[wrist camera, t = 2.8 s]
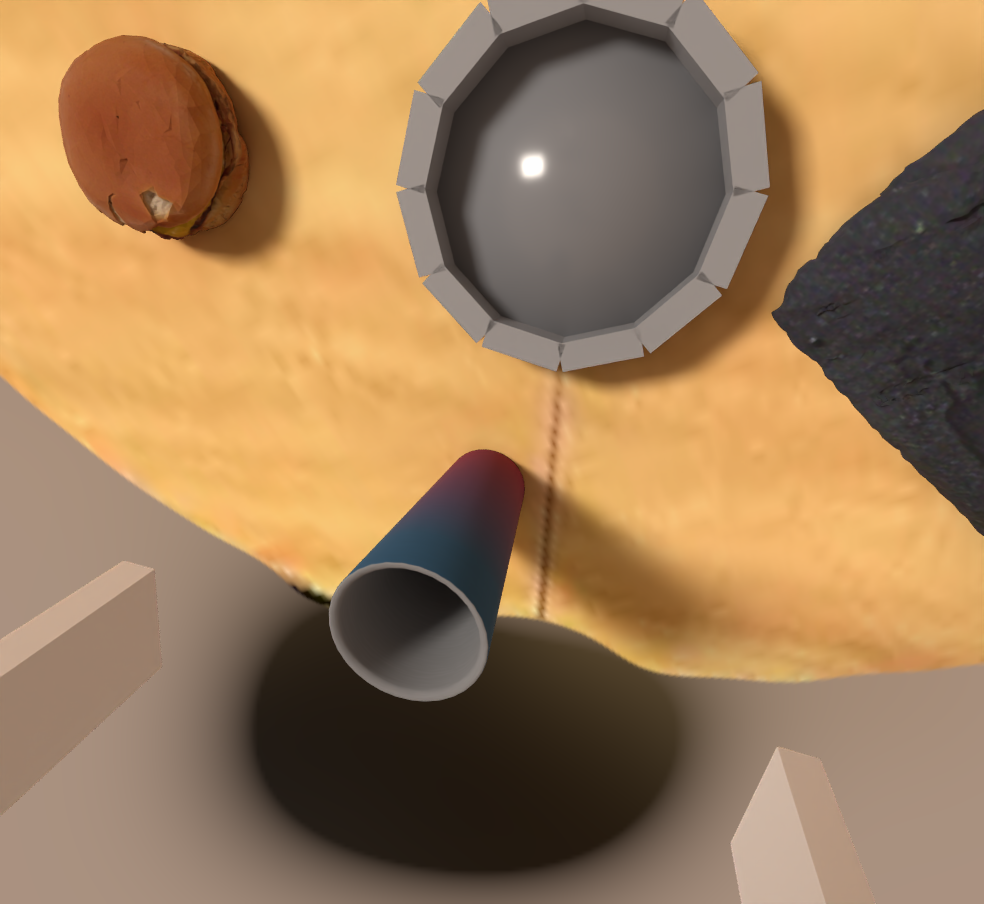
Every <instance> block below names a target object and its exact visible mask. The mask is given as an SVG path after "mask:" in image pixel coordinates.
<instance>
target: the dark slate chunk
mask: <svg viewBox="0 0 984 904" xmlns="http://www.w3.org/2000/svg"><path fill="white" fill-rule="evenodd" d="M880 195H881V196H880V197H878V198H877V199H875V200H874V201H873V202H872V203H870V204H869V205H867V206H866V207H864V208H863V209H862V210H860V211H859V212H858V213H857V214H855V215H854V216H853V217H852V218H851V219H849V220H848V221H847V222H846V223H844V224H843V225H842V226H841V227H840V229H839V230H838V231H837V232H836V233H835V234H834V235H833V236H832V237H831V239H830V240H829V242H827V243H826V244H825V245H824V246H823V247H822V249H821V250H820V251H819V253H818V256H817V258H816V259H814V260H810V261H808V262H807V263H806V264H805V265H804V266H802V267H801V268H800V269H799V270H798V271H797V274H796V276H795V278H794V279H793V280H792V281H791V282H790V283H789V285H788V286H787V289H786V292H785V295H784V301H783V303H782V305H781V306H780V307H779V308H778V309H776V310H775V311H773V312H772V316H773V318H774V320H775V321H776V322H777V323H778V325H779V326H780V327H781V328H782V329H783V330H784V331H786V332H787V335H788V337H789V338H790V340H791V342H792V343H793V344H794V345H795V346H796V347H797V348H798V349H799V350H800V351H802V352H803V353H805V354H806V355H808V356H809V357H810V358H811V359H812V360H814V361H816V362H817V363H818V364H819V365H820V366H821V367H822V369H823V372H824V374H825V376H826V377H827V378H828V379H829V380H831V381H832V382H833V383H834V385H835V387H836V388H837V390H838V391H839V392H840V393H842V394H843V395H845V396H846V397H848V398H849V400H850V401H851V403H852V404H853V406H854V407H855V408H856V409H857V410H858V411H859V412H860V413H861V415H862V416H863V417H864V418H865V419H866V420H867V421H868V423H869V424H870V425H871V427H872V428H874V429H876V430H877V431H878V432H879V433H880V435H881V436H882V438H884V439H885V440H886V441H887V442H888V443H890V444H891V445H892V446H893V447H894V448H896V449H898V450H900V452H901V455H902V457H903V458H904V459H905V460H907V461H908V462H910V463H911V464H912V465H913V466H914V468H915V469H916V470H917V471H918V473H919V474H920V475H922V476H923V477H924V478H926V479H927V480H928V481H929V482H930V483H931V484H932V485H934V486H935V487H936V489H937V490H938V491H939V492H940V493H941V494H942V495H943V496H944V497H945V498H946V499H948V500H949V501H950V502H951V503H952V504H953V505H954V506H955V507H956V508H957V509H958V511H959V512H960V513H961V514H962V515H964V516H965V517H966V518H967V519H968V520H969V521H970V523H971V524H972V525H973V527H974V528H975V529H976V530H977V531H978V532H979V533H980V534H982V535H983V536H984V110H982V111H980V112H978V113H976V114H975V115H973V116H972V117H971V118H970V119H968V120H967V121H966V122H965V123H963V124H962V125H961V126H960V127H959V128H958V129H957V130H956V131H955V132H954V133H953V134H951V135H950V136H949V137H947V138H946V139H944V140H943V141H942V142H941V143H939V144H938V145H937V146H936V147H935V148H934V149H932V150H931V151H930V152H929V153H927V154H926V155H925V156H923V157H922V158H920V159H919V160H917V161H915V162H913V163H911V164H910V165H908V166H907V167H905V170H904V171H903V172H902V173H901V174H900V175H898V176H897V177H896V178H895V179H894V180H893V181H892V182H891V183H890V185H889V186H888V187H887V188H886V189H885V190H884V191H883V192H882V193H880Z"/></svg>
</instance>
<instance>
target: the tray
mask: <svg viewBox="0 0 984 904" xmlns="http://www.w3.org/2000/svg"><path fill="white" fill-rule="evenodd" d="M488 5H489V10H490V13H489V12H488V11H487V9H486V8H485V7H484V6H483V5H482V3H481V2H480V3H479V4H478V5H477V7H476V8H475V9H474V11H473V12H472V13H471V14H470V16H469V17H468V18H467V20H466V21H465V22H464V23H463V25H462V26H461V27H460V29H459V30H458V31H457V32H456V34H455V35H454V36H453V38H452V39H451V40H450V42H449V43H448V44H447V45H446V47H445V48H444V49H443V51H442V52H441V53H440V54H439V56H438V57H437V58H436V60H435V61H434V62H433V63H432V65H431V66H430V67H429V69H428V70H427V71H426V73H425V74H424V75H423V76H422V78H421V79H420V80H419V82H418V84H419V85H420V86H421V87H422V88H423V89H424V90H425V92H426V93H427V94H426V93H423V92H419V91H416V90H414V95H413V100H412V105H411V110H410V115H409V121H408V126H407V131H406V136H405V141H404V147H403V152H402V157H401V162H400V167H399V172H398V178H397V183H396V185H398V186H401V187H405V188H408V189H406V190H402V191H399V192H396V193H397V197H398V200H399V204H400V208H401V212H402V215H403V219H404V223H405V226H406V230H407V234H408V238H409V241H410V245H411V249H412V253H413V256H414V260H415V264H416V268H417V271H418V275H419V277H423V276H428V275H430V276H429V277H428V278H427V279H426V280H425V281H424V282H423V285H424V286H425V287H426V288H427V289H428V290H429V291H430V292H431V293H432V294H433V296H434V297H435V298H436V299H437V300H438V301H439V302H440V303H441V304H442V306H443V307H444V308H445V309H446V310H447V311H448V312H449V313H450V314H451V315H452V317H453V318H454V319H455V320H456V321H457V322H458V323H459V324H460V325H461V326H462V328H463V329H464V330H465V331H466V332H467V333H468V334H469V335H470V336H471V337H472V339H473V340H474V341H475V342H476V343H477V342H479V341H480V340H481V339H483V338H484V341H483V345H482V347H485V348H488V349H491V350H494V351H497V352H500V353H503V354H505V355H508V356H511V357H514V358H517V359H520V360H523V361H526V362H529V363H532V364H535V365H538V366H541V367H544V368H547V369H550V370H553V371H557V369H558V367H559V365H560V362H561V366H562V371H563V372H566V371H571V370H576V369H581V368H586V367H592V366H597V365H602V364H607V363H613V362H618V361H623V360H628V359H633V358H639V357H644V353H643V347H642V344H643V345H644V346H645V348H646V349H647V350H648V351H649V352H650V353H652V352H653V351H654V350H655V349H657V348H658V347H659V346H660V345H662V344H663V343H664V342H665V341H666V340H668V339H669V338H670V337H671V336H673V335H674V334H675V333H676V332H678V331H679V330H680V329H681V328H683V327H684V326H685V325H686V324H687V323H689V322H690V321H691V320H692V319H694V318H695V317H696V316H697V315H699V314H700V313H701V312H702V311H704V310H705V309H706V308H707V307H708V306H710V305H711V304H712V303H713V302H715V301H716V300H717V299H718V298H720V297H721V296H722V295H721V293H720V292H719V291H718V290H717V289H716V287H715V286H714V285H716V286H719V287H722V288H725V289H727V288H728V286H729V283H730V281H731V279H732V277H733V274H734V272H735V270H736V268H737V265H738V263H739V261H740V259H741V256H742V254H743V252H744V250H745V247H746V245H747V243H748V241H749V238H750V236H751V234H752V232H753V229H754V227H755V225H756V223H757V220H758V218H759V216H760V213H761V211H762V209H763V207H764V204H765V202H766V200H767V198H768V195H764V194H761V193H758V192H756V191H760V190H763V189H766V188H769V187H770V182H769V170H768V157H767V145H766V132H765V119H764V107H763V94H762V82H761V81H759V82H756V83H753V84H750V85H748V84H749V83H750V82H751V81H752V80H753V79H754V77H755V76H756V75H757V74H758V71H757V70H756V69H755V68H754V66H753V65H752V64H751V62H750V61H749V60H748V58H747V57H746V56H745V54H744V53H743V52H742V51H741V49H740V48H739V47H738V45H737V44H736V43H735V41H734V40H733V39H732V37H731V36H730V35H729V34H728V32H727V31H726V30H725V28H724V27H723V26H722V24H721V23H720V22H719V20H718V19H717V18H716V17H715V15H714V14H713V13H712V11H711V10H710V9H709V7H708V6H707V5H706V3H705V2H704V1H703V0H685V1H684V0H488Z"/></svg>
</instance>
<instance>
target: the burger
mask: <svg viewBox="0 0 984 904" xmlns="http://www.w3.org/2000/svg"><path fill="white" fill-rule="evenodd" d="M58 101H59V119H60V126H61V132H62V138H63V144H64V148H65V152H66V155H67V159H68V163H69V165H70V168H71V170H72V172H73V174H74V176H75V178H76V180H77V182H78V184H79V186H80V188H81V189H82V191H83V192H84V194H85V195H86V197H87V199H88V200H89V201H90V202H91V203H92V204H93V205H94V206H95V207H96V208H97V209H98V210H99V211H100V212H101V213H104V214H105V215H106V216H107V217H109V218H110V219H111V220H113V221H114V222H116V223H118V224H120V225H122V226H123V225H124V224H126V225H128V226H130V227H131V228H133V229H135V230H137V231H140V232H142V233H146V231H152V232H153V233H155V234H157V235H158V236H160V237H161V238H163V239H169V240H170V239H171V238H173V239H176V240H179V239H183V238H185V237H186V236H188V235H194V234H196V233H197V232H199V231H200V230H209V229H211V228H216V227H218V226H220V225H222V224H223V223H225V222H226V221H227V220H228V219H230V217H231V216H232V215H233V213H234V212H235V211H236V210H237V208H238V207H239V205H240V203H241V202H242V198H241V196H242V194H243V193H244V192H245V191H246V190H247V181H248V176H249V157H248V152H247V148H246V144H245V142H244V140H243V138H242V137H241V135H240V134H239V133H238V129H237V119H236V116H235V112H234V109H233V103H232V101H231V99H230V97H229V95H228V94H227V92H226V89H225V88H224V86H223V84H222V83H221V82H220V80H219V79H218V78H217V77H216V75H215V71H214V70H213V68H212V67H211V66H210V65H209V64H208V63H207V61H206V60H204V59H203V58H202V57H200V56H198V55H196V54H195V53H193V52H191V51H189V50H186V49H183V48H179V47H176V46H172V45H168V44H166V43H159V42H157V41H155V40H153V39H150V38H147V37H143V36H129V35H121V36H118V37H114V38H111V39H107V40H104V41H102V42H100V43H98V44H96V45H94V46H93V47H92V48H90V49H89V50H88V51H86V52H84V53H83V54H82V55H80V56H79V57H78V58H76V59H75V60H74V61H73V63H72V64H71V66H70V67H69V69H68V71H67V72H66V74H65V76H64V78H63V79H62V83H61V89H60V94H59V100H58Z"/></svg>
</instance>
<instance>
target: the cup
mask: <svg viewBox="0 0 984 904" xmlns="http://www.w3.org/2000/svg"><path fill="white" fill-rule="evenodd" d="M524 491H525V487H524V480H523V477H522V474H521V472H520V470H519V468H518V467H517V466H516V465H515V463H514V462H513V461H511V460H510V459H509V458H508V457H506V456H505V455H503V454H501V453H498V452H496V451H492V450H475V451H471V452H469V453H466V454H464V455H463V456H462V457H460V458H459V459H458V460H457V461H456V462H455V463H454V464H453V465H452V466H451V467H450V468H449V470H448V471H447V472H446V473H445V474H444V475H443V476H442V477H441V478H440V479H439V480H438V481H437V482H436V483H435V484H434V485H433V486H432V487H431V488H430V489H429V491H428V492H427V493H426V494H425V495H424V496H423V497H422V498H421V499H420V500H419V501H418V502H417V503H416V504H415V505H414V506H413V507H412V508H411V509H410V510H409V512H408V513H407V514H406V515H405V516H404V517H403V518H402V519H401V520H400V521H399V522H398V523H397V524H396V525H395V526H394V527H393V528H392V529H391V530H390V532H389V533H388V534H387V535H386V536H385V537H384V538H383V539H382V540H381V541H380V542H379V543H378V544H377V545H376V546H375V547H374V548H373V549H372V550H371V551H370V553H369V554H368V555H367V556H366V557H365V558H364V559H363V560H362V561H361V562H360V563H359V564H358V565H357V566H356V567H355V568H354V569H353V570H352V571H351V573H350V574H349V575H348V576H347V577H346V578H345V579H344V580H343V581H342V582H341V583H340V585H339V586H338V587H337V589H336V591H335V593H334V595H333V597H332V600H331V605H330V609H329V625H330V629H331V633H332V637H333V640H334V642H335V644H336V646H337V649H338V651H339V652H340V653H341V655H342V657H343V658H344V660H345V661H346V662H347V664H348V665H349V666H350V667H351V668H352V669H353V670H354V671H355V672H356V673H357V674H358V675H359V676H361V677H362V678H363V679H364V680H366V681H367V682H368V683H370V684H372V685H373V686H375V687H376V688H378V689H380V690H382V691H384V692H386V693H389V694H391V695H394V696H396V697H401V698H404V699H408V700H416V701H437V700H442V699H446V698H450V697H453V696H455V695H457V694H459V693H461V692H463V691H465V690H466V689H467V688H469V687H470V686H471V685H472V684H473V683H474V682H475V681H476V680H477V679H478V677H479V676H480V675H481V673H482V672H483V669H484V667H485V664H486V662H487V658H488V654H489V649H490V645H491V640H492V636H493V632H494V626H495V623H496V618H497V614H498V609H499V605H500V600H501V596H502V591H503V587H504V582H505V578H506V573H507V569H508V565H509V560H510V556H511V551H512V547H513V542H514V538H515V533H516V529H517V524H518V520H519V515H520V511H521V506H522V502H523V497H524Z"/></svg>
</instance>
